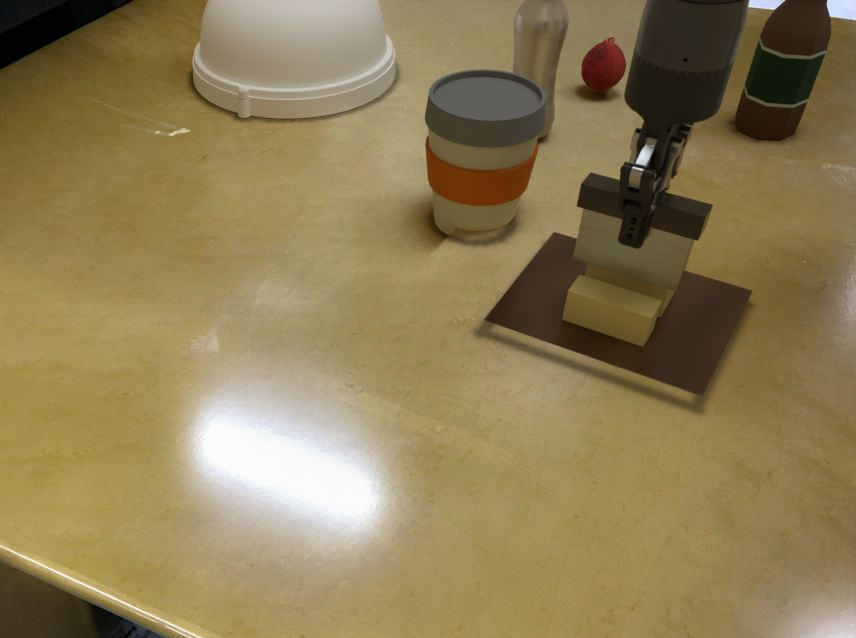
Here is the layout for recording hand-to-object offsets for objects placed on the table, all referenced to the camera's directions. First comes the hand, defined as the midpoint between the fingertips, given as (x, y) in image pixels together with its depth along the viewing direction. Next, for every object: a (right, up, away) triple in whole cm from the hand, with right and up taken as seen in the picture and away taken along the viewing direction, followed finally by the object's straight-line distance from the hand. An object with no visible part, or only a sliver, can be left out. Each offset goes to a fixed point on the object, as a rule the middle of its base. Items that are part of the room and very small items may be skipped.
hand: (635, 235), depth 82 cm
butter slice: (-1, -8, +4) cm, 9 cm away
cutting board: (+1, -7, +8) cm, 10 cm away
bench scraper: (0, -3, +3) cm, 4 cm away
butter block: (+2, -4, +8) cm, 9 cm away
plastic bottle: (-2, +20, +36) cm, 41 cm away
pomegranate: (+10, +28, +44) cm, 53 cm away
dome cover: (-32, +34, +51) cm, 69 cm away
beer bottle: (+29, +21, +35) cm, 50 cm away
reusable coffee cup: (-11, +6, +21) cm, 25 cm away
